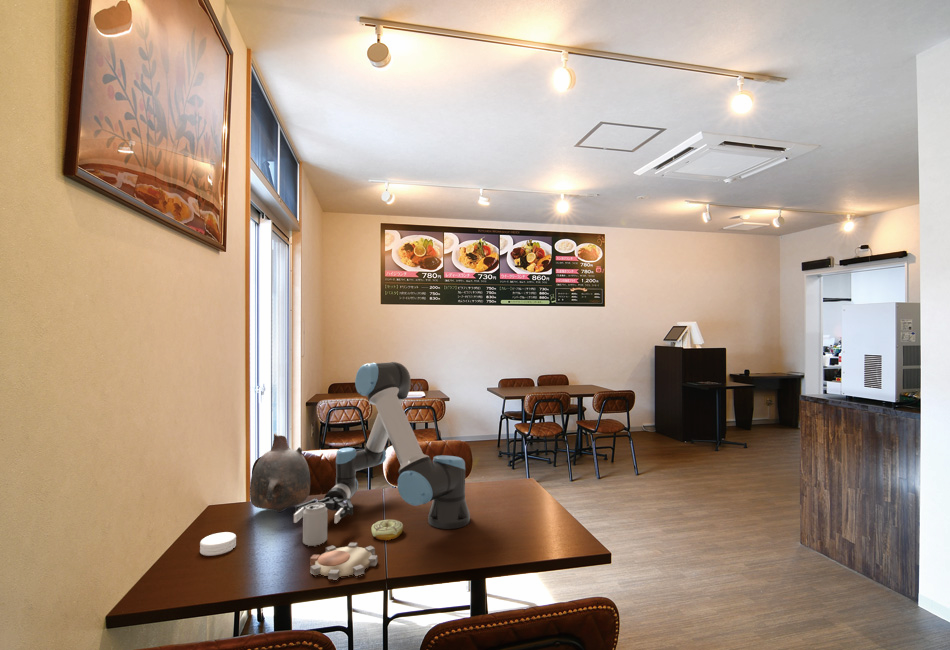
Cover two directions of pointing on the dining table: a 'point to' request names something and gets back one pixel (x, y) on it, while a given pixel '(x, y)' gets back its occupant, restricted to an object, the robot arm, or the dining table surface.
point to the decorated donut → (387, 529)
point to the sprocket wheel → (343, 561)
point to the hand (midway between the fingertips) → (315, 518)
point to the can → (314, 524)
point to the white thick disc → (217, 543)
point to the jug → (280, 477)
